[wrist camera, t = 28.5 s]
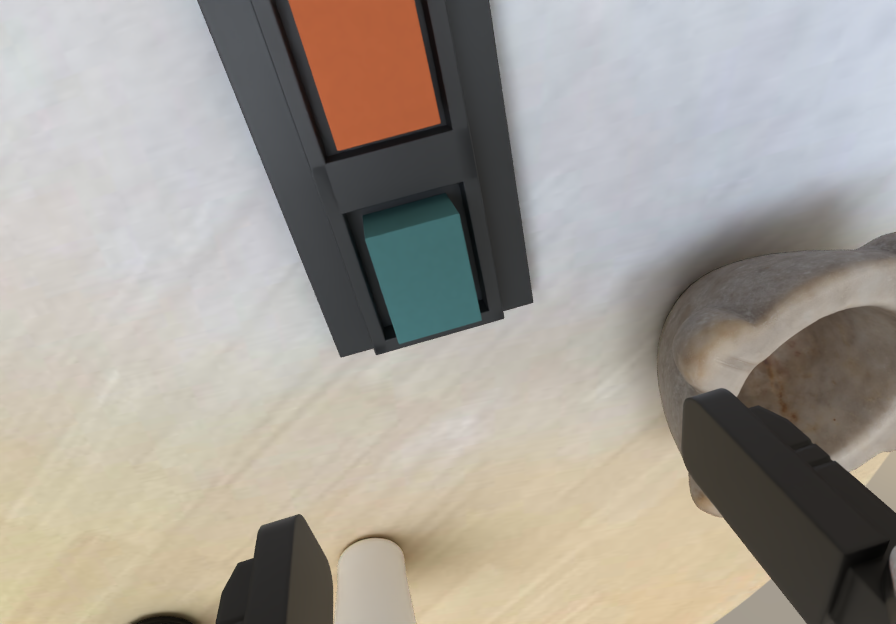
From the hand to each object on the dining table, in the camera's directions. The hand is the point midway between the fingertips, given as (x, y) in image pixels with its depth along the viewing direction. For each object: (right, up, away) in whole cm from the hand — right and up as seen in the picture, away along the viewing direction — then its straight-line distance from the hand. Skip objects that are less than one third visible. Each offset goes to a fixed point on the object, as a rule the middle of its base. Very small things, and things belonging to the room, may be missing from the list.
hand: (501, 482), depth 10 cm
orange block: (-5, +15, +12) cm, 20 cm away
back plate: (-4, +11, +16) cm, 20 cm away
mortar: (+19, +3, +26) cm, 32 cm away
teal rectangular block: (-3, +7, +17) cm, 19 cm away
